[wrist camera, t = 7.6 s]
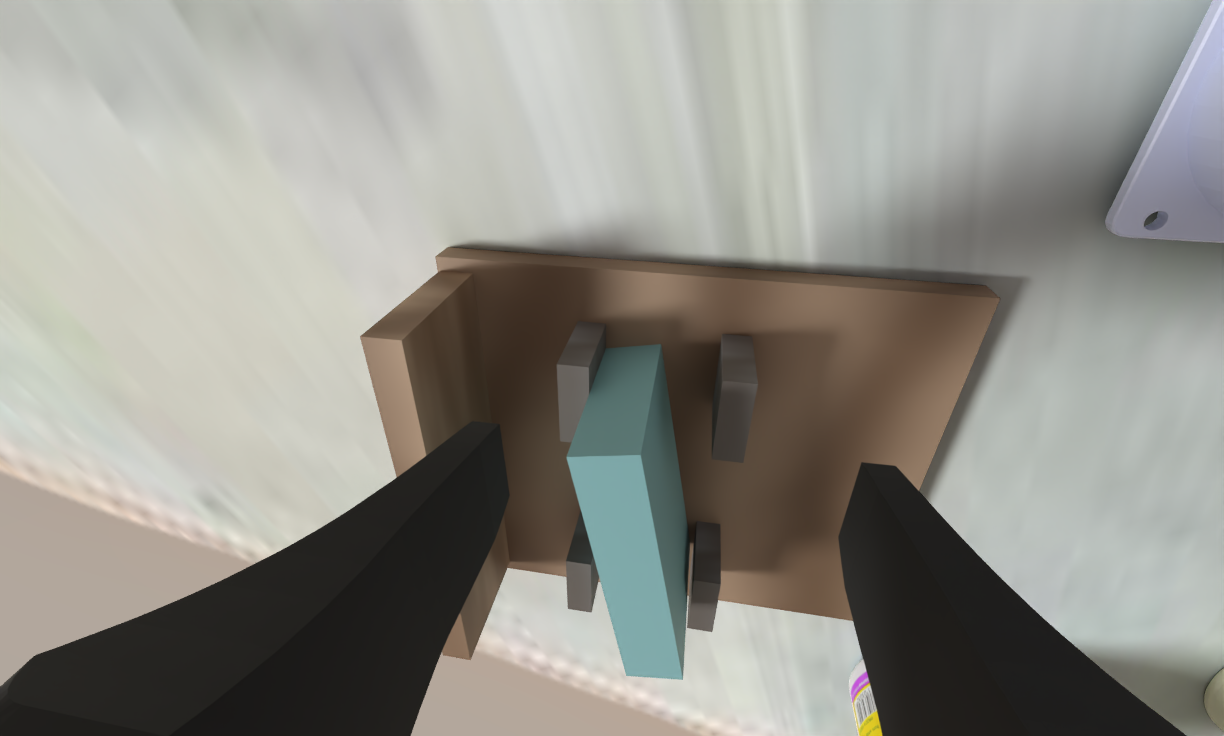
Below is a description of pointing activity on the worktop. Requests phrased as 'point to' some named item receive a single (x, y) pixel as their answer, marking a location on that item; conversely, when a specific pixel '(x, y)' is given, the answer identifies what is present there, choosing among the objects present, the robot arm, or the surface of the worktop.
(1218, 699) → the can
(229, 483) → the worktop surface
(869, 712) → the supplement bottle
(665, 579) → the door panel
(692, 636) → the worktop surface
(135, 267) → the worktop surface
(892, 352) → the board
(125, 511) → the worktop surface
